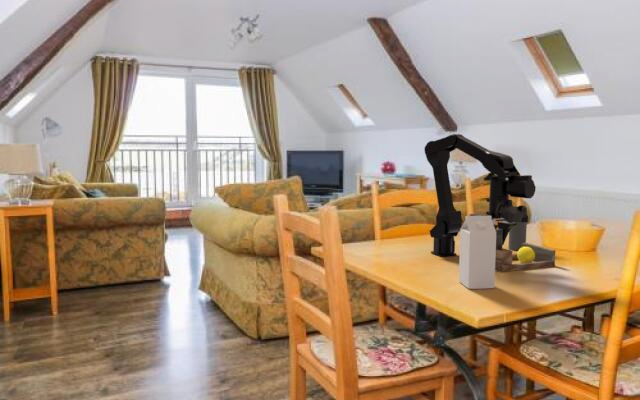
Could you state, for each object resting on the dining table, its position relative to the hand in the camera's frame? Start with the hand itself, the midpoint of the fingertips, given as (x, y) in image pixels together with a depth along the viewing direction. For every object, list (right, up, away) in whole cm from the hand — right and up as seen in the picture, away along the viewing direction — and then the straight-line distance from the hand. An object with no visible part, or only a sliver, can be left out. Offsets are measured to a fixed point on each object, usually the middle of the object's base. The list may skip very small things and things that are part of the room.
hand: (497, 245), depth 157 cm
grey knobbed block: (0, -7, +1) cm, 6 cm away
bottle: (+16, -4, +26) cm, 31 cm away
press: (+6, -6, +3) cm, 9 cm away
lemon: (+11, -6, +5) cm, 13 cm away
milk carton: (-13, -9, -21) cm, 26 cm away
